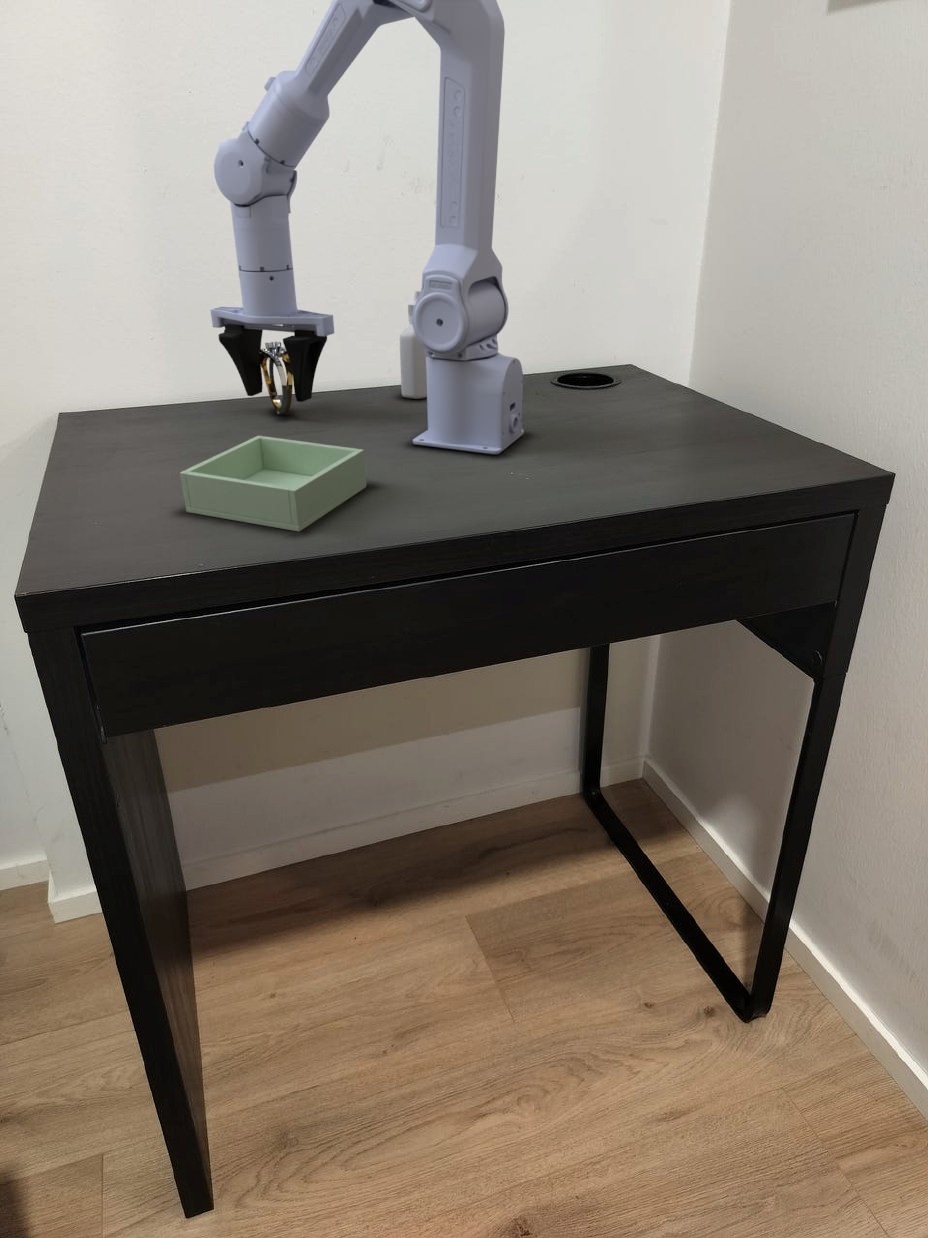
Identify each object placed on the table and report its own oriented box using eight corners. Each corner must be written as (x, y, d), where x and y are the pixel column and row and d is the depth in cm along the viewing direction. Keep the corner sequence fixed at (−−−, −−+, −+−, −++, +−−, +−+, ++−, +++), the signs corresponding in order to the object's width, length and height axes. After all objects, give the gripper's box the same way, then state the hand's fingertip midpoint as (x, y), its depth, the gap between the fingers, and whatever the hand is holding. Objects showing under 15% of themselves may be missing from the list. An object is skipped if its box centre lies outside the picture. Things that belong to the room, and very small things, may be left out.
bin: (366, 486, 80) (364, 449, 78) (299, 532, 71) (294, 490, 69) (262, 471, 84) (258, 435, 82) (186, 512, 74) (179, 472, 73)
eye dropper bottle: (392, 393, 109) (388, 290, 103) (433, 387, 111) (430, 286, 105) (408, 401, 105) (404, 295, 100) (449, 395, 108) (448, 291, 102)
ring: (260, 408, 103) (251, 337, 99) (287, 405, 104) (280, 335, 100) (274, 423, 97) (266, 349, 94) (302, 420, 99) (295, 346, 95)
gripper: (344, 266, 94) (353, 394, 101) (232, 261, 99) (247, 382, 106) (309, 275, 88) (320, 409, 95) (191, 268, 93) (210, 396, 100)
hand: (279, 396), depth 100 cm, fingers closed on ring, 6 cm apart
